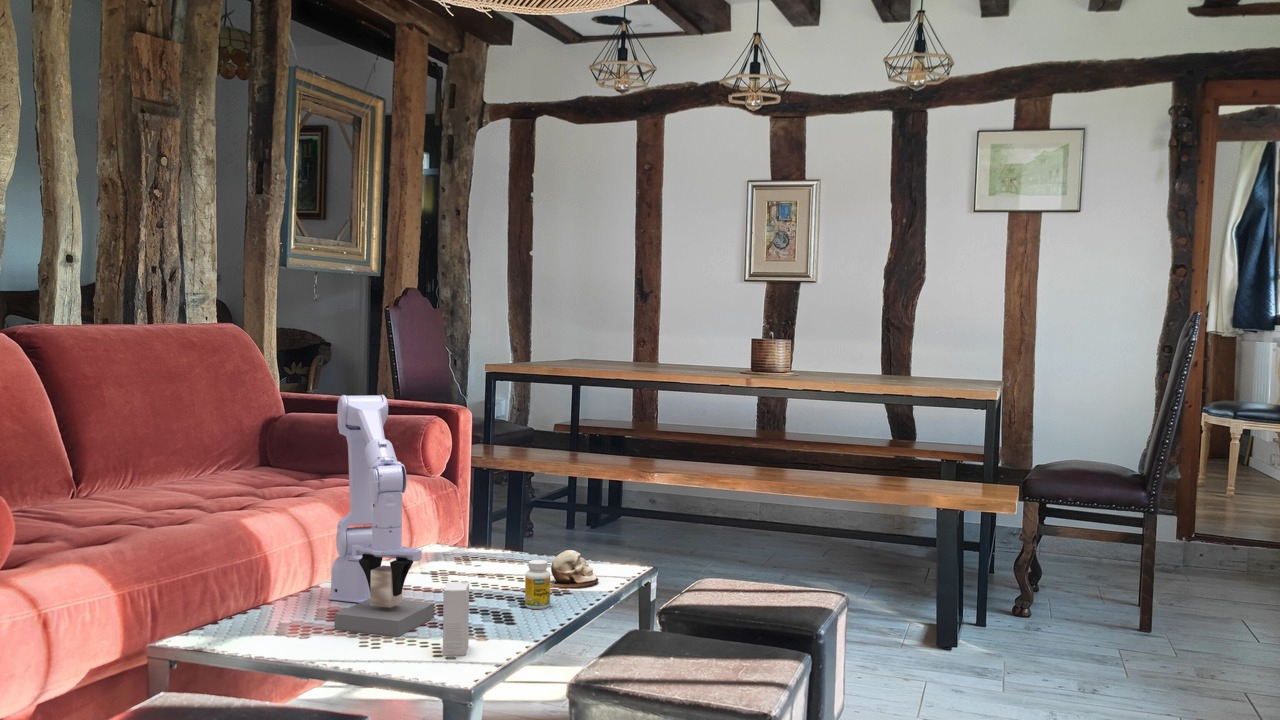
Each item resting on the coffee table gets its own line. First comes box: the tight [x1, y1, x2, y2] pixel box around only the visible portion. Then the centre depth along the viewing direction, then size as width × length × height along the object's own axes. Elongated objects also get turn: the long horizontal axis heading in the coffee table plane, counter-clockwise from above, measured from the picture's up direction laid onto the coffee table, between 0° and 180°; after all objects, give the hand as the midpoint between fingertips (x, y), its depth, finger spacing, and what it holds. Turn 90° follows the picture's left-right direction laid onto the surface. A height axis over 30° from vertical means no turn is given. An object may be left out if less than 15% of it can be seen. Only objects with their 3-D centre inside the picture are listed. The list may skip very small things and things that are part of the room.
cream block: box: [370, 565, 403, 608], centre depth 204 cm, size 4×4×7 cm
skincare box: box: [442, 581, 470, 657], centre depth 187 cm, size 6×4×12 cm
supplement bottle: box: [524, 559, 551, 610], centre depth 219 cm, size 5×5×10 cm
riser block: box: [334, 599, 435, 638], centre depth 203 cm, size 14×14×3 cm
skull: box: [550, 549, 599, 588], centre depth 241 cm, size 12×10×10 cm
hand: (385, 593), depth 203 cm, fingers open, 4 cm apart
